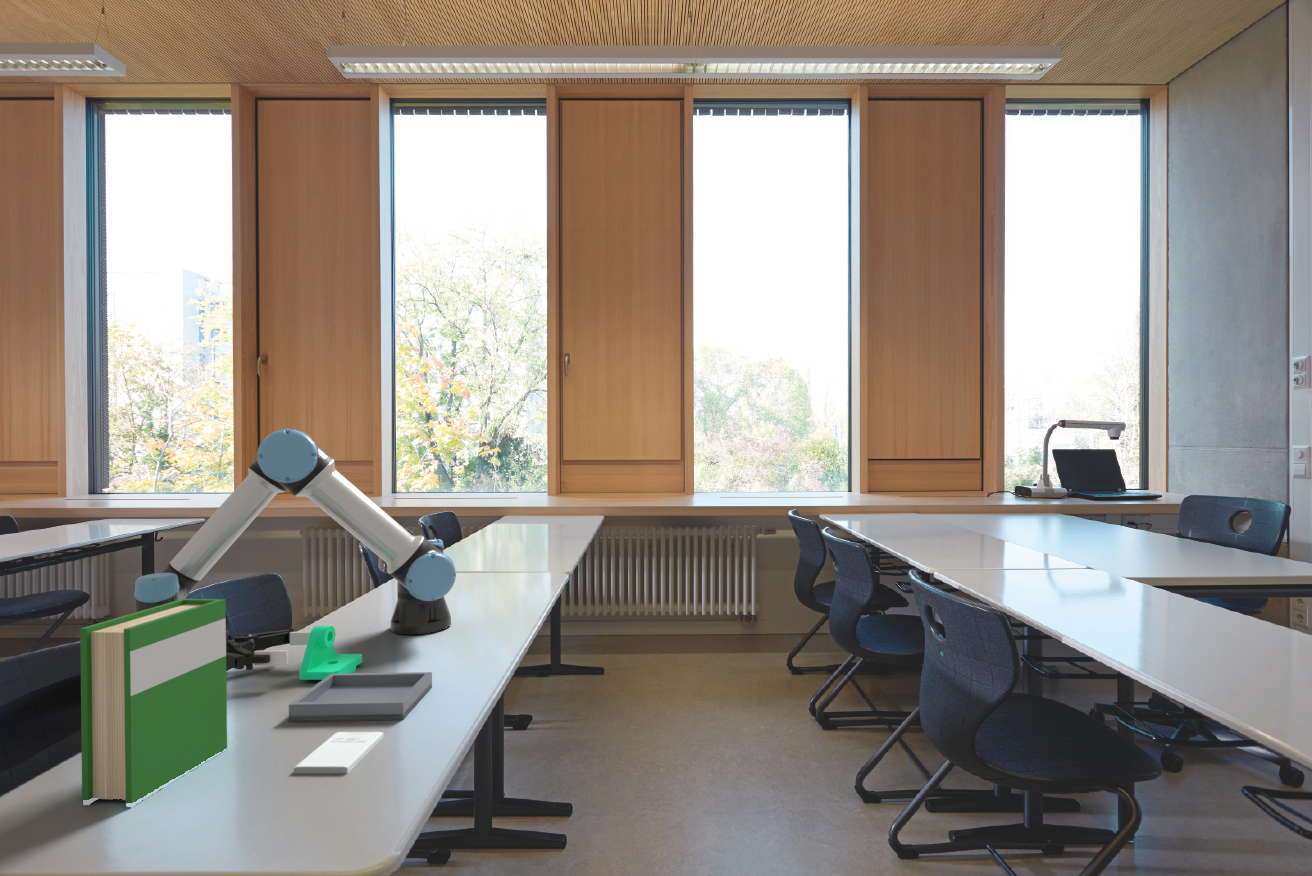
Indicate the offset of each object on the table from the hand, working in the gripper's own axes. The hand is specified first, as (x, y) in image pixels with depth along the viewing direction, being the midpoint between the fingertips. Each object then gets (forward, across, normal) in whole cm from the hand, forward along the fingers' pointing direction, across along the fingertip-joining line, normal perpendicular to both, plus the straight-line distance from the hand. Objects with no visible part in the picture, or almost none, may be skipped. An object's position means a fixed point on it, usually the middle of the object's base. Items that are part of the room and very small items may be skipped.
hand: (304, 647), depth 146 cm
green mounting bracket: (+6, 0, -6) cm, 9 cm away
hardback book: (+1, +44, -6) cm, 44 cm away
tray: (+20, +17, -6) cm, 26 cm away
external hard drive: (+24, +38, -7) cm, 45 cm away
